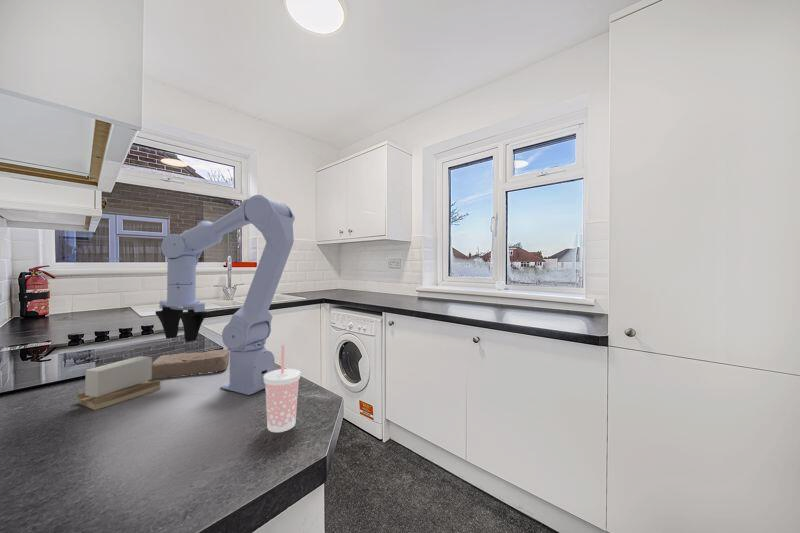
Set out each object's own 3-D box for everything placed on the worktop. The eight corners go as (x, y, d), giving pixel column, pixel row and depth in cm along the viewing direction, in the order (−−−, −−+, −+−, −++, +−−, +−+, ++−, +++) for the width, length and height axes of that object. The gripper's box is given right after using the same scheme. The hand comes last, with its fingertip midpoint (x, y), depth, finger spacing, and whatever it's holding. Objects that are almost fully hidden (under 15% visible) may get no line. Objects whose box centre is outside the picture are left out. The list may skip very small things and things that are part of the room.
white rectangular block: (97, 397, 59) (98, 371, 59) (85, 395, 60) (85, 369, 60) (151, 379, 69) (151, 357, 69) (140, 377, 70) (140, 356, 70)
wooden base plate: (159, 389, 68) (160, 380, 68) (94, 410, 58) (95, 399, 58) (142, 384, 71) (142, 375, 71) (77, 403, 61) (77, 393, 61)
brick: (147, 381, 73) (148, 362, 73) (159, 370, 81) (160, 353, 81) (225, 373, 80) (226, 355, 80) (229, 364, 88) (230, 348, 88)
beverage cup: (271, 416, 56) (273, 341, 56) (304, 417, 56) (305, 341, 56) (255, 434, 50) (257, 349, 50) (292, 435, 50) (293, 350, 50)
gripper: (217, 284, 75) (216, 338, 75) (180, 282, 81) (179, 333, 81) (187, 285, 69) (186, 345, 69) (150, 284, 74) (149, 339, 74)
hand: (181, 339), depth 74 cm, fingers open, 7 cm apart
